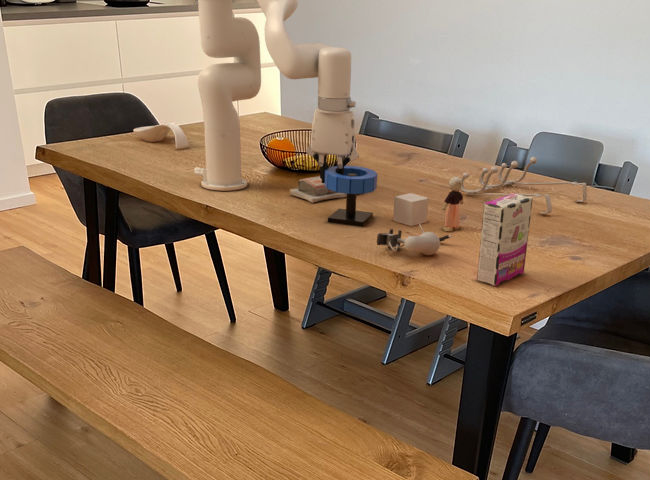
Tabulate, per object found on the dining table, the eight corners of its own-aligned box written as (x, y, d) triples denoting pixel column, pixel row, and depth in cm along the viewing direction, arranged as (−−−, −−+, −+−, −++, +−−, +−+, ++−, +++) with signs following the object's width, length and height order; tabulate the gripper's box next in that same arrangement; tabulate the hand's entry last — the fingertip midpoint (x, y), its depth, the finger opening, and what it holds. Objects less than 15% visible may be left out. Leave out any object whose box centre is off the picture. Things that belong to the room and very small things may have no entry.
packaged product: (340, 168, 230) (364, 176, 224) (340, 186, 232) (363, 194, 226) (289, 177, 219) (312, 185, 213) (289, 195, 222) (312, 203, 215)
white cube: (409, 216, 208) (411, 192, 206) (426, 222, 205) (428, 198, 202) (392, 220, 205) (394, 196, 202) (410, 226, 201) (412, 201, 198)
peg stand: (327, 222, 201) (328, 176, 196) (338, 213, 208) (340, 168, 203) (362, 226, 199) (364, 180, 193) (372, 217, 206) (375, 172, 201)
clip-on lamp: (415, 249, 194) (371, 250, 180) (418, 222, 193) (374, 221, 178) (458, 256, 188) (416, 257, 173) (461, 227, 186) (420, 227, 172)
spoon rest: (127, 139, 277) (125, 117, 273) (157, 135, 284) (155, 113, 281) (168, 151, 263) (167, 128, 259) (198, 146, 270) (197, 124, 267)
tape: (318, 189, 196) (318, 174, 194) (333, 177, 207) (334, 163, 205) (368, 196, 193) (369, 181, 192) (381, 184, 204) (382, 169, 202)
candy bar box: (504, 268, 176) (513, 192, 169) (524, 274, 173) (534, 197, 166) (474, 280, 169) (483, 201, 161) (494, 287, 166) (504, 207, 158)
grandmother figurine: (451, 233, 197) (456, 180, 191) (437, 230, 198) (442, 178, 192) (465, 226, 202) (471, 174, 196) (451, 223, 204) (456, 172, 198)
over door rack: (501, 182, 244) (505, 149, 239) (588, 203, 226) (594, 167, 222) (457, 194, 229) (460, 159, 225) (547, 217, 212) (552, 179, 208)
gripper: (371, 105, 193) (367, 183, 202) (306, 99, 197) (305, 175, 206) (362, 110, 187) (359, 190, 196) (295, 103, 191) (295, 182, 200)
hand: (331, 182), depth 201 cm, fingers closed on tape, 2 cm apart
